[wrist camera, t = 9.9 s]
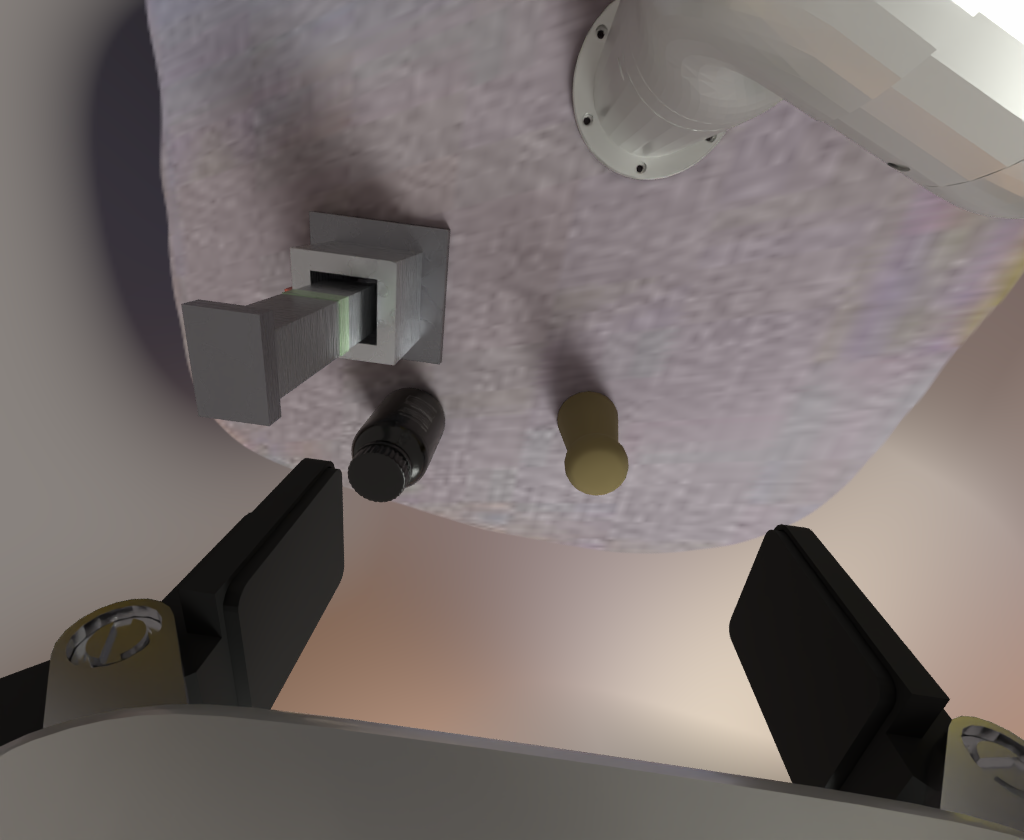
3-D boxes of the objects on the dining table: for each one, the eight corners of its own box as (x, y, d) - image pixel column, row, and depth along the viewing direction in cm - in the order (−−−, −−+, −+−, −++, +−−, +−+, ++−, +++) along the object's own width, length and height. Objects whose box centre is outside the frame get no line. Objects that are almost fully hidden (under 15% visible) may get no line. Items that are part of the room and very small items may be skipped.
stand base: (314, 211, 43) (258, 212, 34) (450, 229, 42) (427, 235, 34) (319, 344, 47) (271, 373, 39) (441, 361, 47) (419, 393, 39)
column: (329, 264, 37) (180, 303, 22) (377, 270, 37) (260, 314, 22) (331, 335, 40) (197, 416, 24) (376, 341, 40) (270, 426, 24)
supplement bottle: (368, 398, 49) (318, 453, 38) (429, 376, 48) (394, 426, 37) (399, 455, 52) (359, 522, 41) (457, 435, 50) (432, 499, 39)
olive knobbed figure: (548, 436, 50) (549, 494, 40) (569, 383, 47) (575, 431, 37) (604, 453, 50) (619, 515, 40) (627, 402, 48) (649, 454, 38)
